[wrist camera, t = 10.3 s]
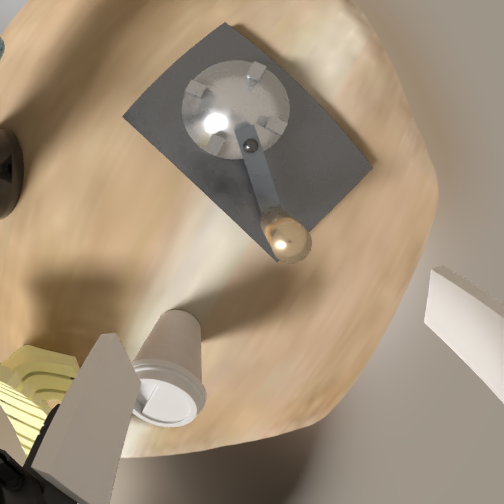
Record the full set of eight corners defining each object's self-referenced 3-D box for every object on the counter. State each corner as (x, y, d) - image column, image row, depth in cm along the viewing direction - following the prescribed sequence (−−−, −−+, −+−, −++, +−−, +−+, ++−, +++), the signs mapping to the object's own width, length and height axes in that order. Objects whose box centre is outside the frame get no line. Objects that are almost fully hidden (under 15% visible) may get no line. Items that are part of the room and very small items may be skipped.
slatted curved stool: (4, 304, 35) (-50, 353, 18) (63, 316, 36) (6, 383, 19) (51, 412, 44) (25, 463, 27) (105, 428, 45) (85, 489, 28)
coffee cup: (180, 287, 36) (155, 357, 22) (225, 334, 39) (224, 413, 24) (134, 321, 37) (99, 391, 23) (178, 363, 40) (163, 438, 26)
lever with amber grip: (174, 87, 26) (144, 47, 15) (266, 59, 26) (285, 8, 15) (228, 242, 32) (227, 285, 21) (317, 213, 32) (362, 239, 20)
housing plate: (127, 119, 29) (121, 116, 27) (225, 29, 26) (224, 21, 24) (274, 257, 36) (277, 262, 34) (365, 167, 33) (373, 167, 31)
